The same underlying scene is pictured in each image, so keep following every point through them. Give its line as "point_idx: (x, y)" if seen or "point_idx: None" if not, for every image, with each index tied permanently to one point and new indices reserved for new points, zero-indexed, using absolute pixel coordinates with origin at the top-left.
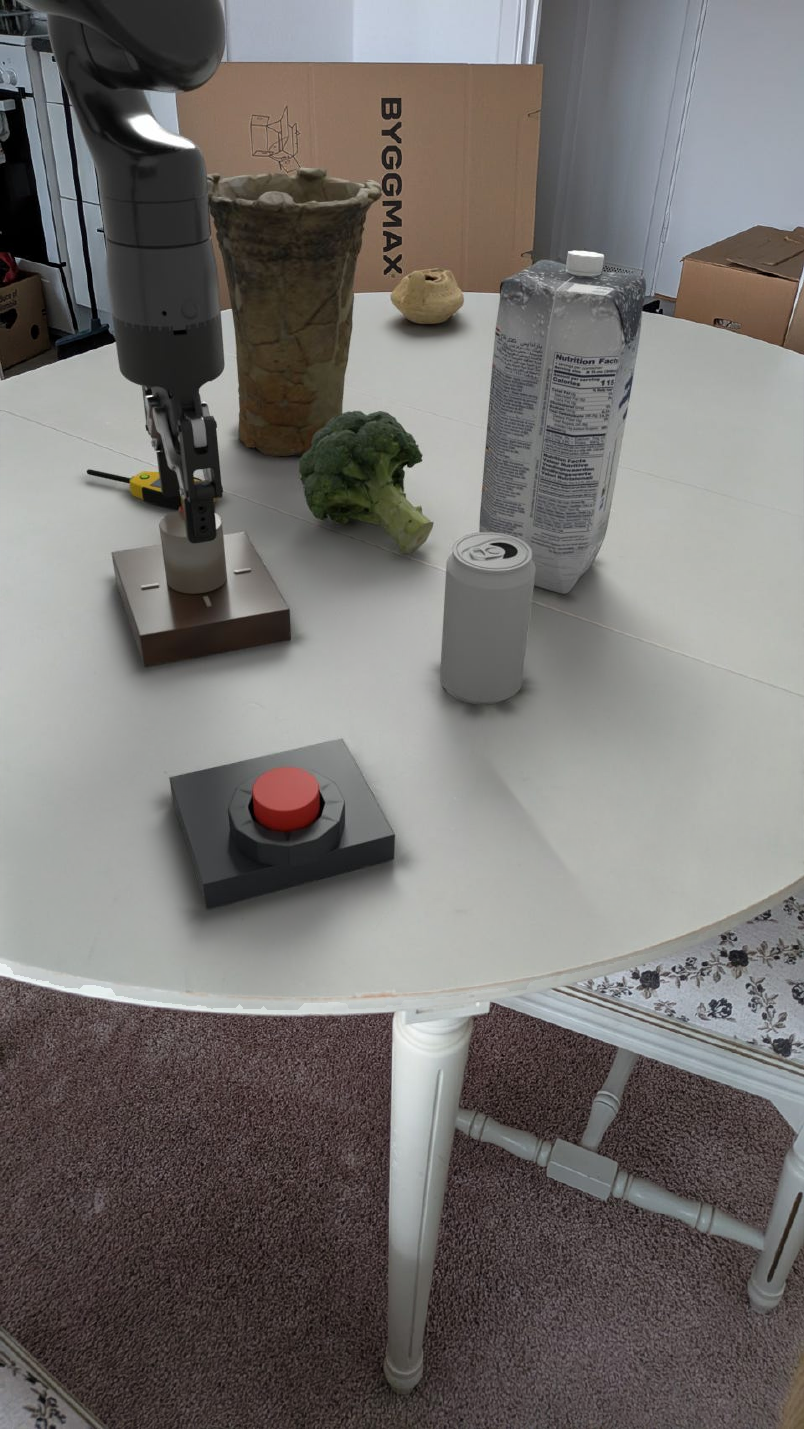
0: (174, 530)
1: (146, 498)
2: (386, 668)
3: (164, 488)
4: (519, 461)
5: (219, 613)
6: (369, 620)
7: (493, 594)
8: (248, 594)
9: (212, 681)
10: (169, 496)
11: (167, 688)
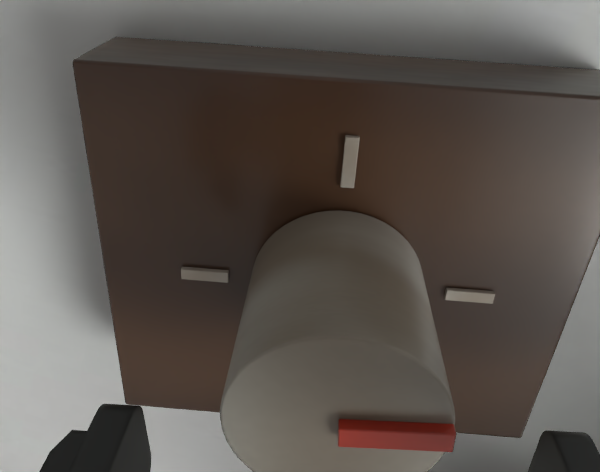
0: (291, 372)
1: None
2: (25, 433)
3: (561, 462)
4: None
5: (143, 282)
6: (178, 462)
7: None
8: (211, 359)
9: (28, 171)
10: (540, 439)
11: (13, 68)
